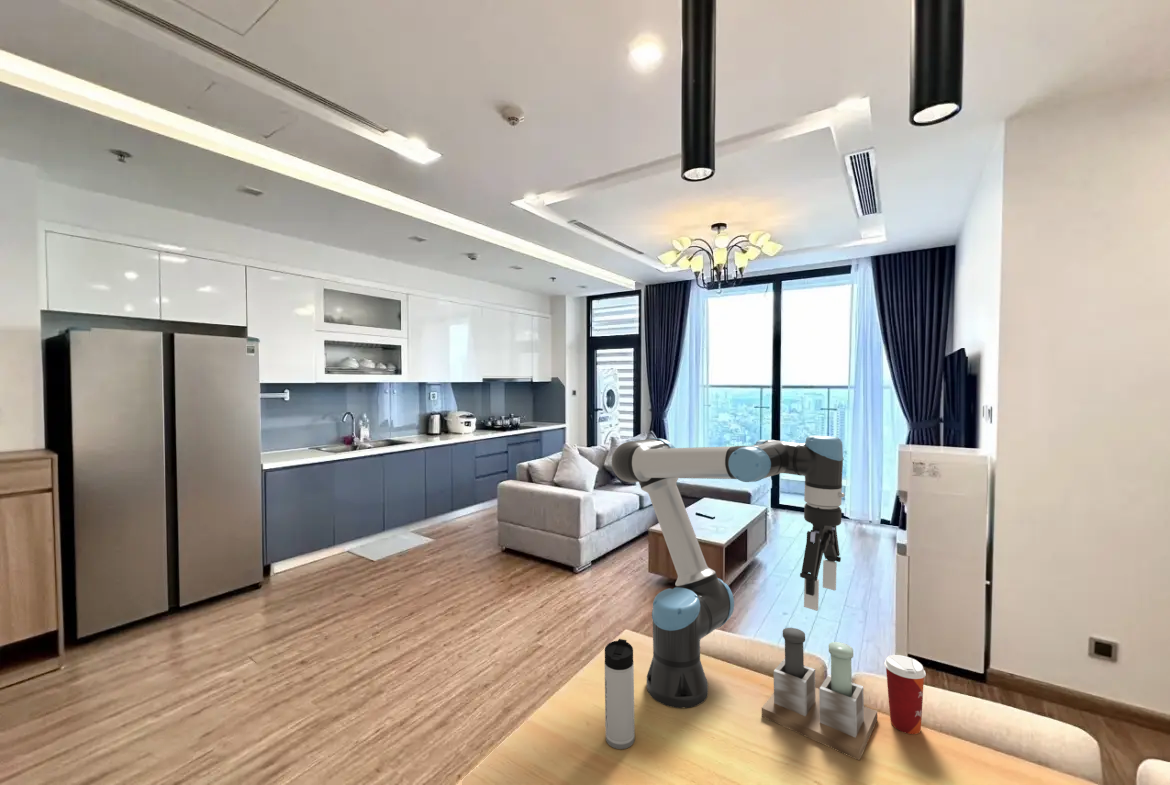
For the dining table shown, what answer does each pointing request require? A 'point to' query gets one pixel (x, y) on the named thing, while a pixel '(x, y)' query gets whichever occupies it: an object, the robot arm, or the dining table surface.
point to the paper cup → (905, 692)
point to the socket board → (821, 711)
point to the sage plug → (841, 668)
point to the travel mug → (619, 694)
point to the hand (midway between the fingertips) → (820, 598)
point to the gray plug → (794, 652)
